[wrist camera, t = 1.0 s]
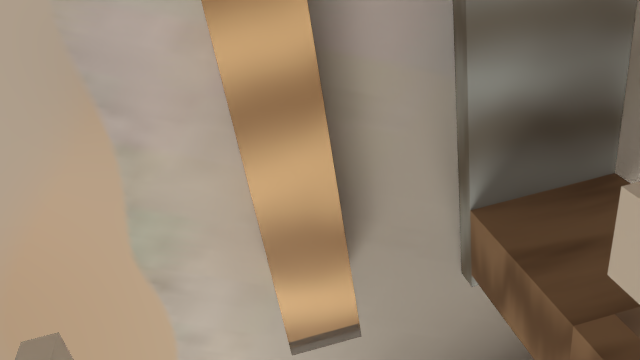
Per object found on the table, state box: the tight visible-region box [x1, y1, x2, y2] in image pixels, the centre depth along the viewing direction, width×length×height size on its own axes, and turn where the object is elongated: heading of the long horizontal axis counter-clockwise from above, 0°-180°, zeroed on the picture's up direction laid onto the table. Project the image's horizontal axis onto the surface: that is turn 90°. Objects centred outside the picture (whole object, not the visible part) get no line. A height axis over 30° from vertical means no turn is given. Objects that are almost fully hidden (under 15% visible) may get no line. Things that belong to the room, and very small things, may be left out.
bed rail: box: [201, 0, 361, 355], centre depth 25 cm, size 28×4×5 cm, turn 9°
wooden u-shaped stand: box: [453, 0, 640, 360], centre depth 23 cm, size 32×10×14 cm, turn 9°
